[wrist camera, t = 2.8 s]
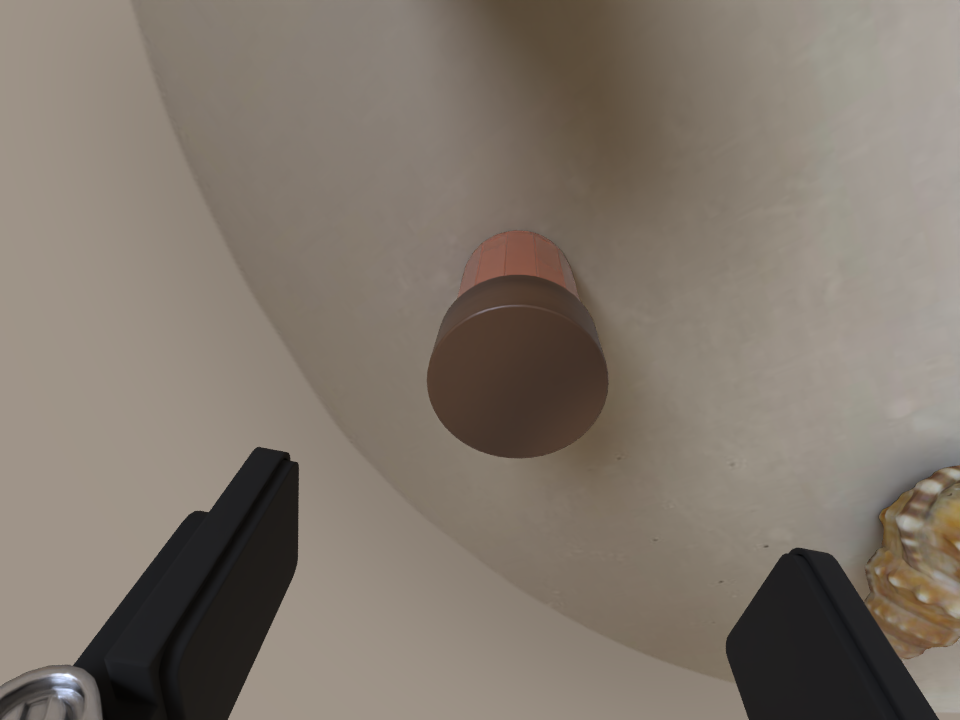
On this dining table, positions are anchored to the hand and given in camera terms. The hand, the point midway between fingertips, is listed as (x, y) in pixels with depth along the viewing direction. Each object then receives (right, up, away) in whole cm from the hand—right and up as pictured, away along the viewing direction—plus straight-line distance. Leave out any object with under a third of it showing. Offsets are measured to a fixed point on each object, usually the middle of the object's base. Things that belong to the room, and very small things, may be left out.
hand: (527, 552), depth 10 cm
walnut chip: (0, +4, +7) cm, 8 cm away
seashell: (+22, -4, +17) cm, 28 cm away
